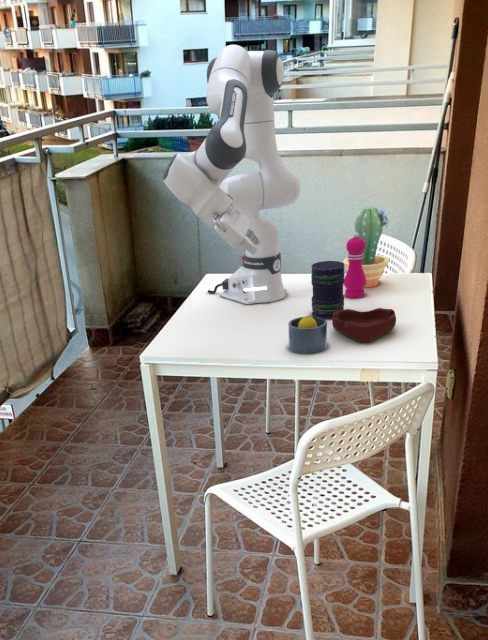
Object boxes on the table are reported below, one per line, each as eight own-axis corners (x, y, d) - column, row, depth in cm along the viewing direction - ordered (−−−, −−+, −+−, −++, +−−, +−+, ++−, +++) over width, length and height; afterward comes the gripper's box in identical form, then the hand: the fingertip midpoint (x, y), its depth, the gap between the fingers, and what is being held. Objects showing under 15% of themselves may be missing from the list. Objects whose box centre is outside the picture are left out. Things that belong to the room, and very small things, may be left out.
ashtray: (332, 345, 191) (332, 328, 188) (332, 325, 205) (332, 309, 202) (398, 343, 188) (399, 326, 186) (394, 323, 202) (394, 307, 199)
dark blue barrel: (343, 308, 217) (344, 260, 210) (344, 318, 209) (345, 268, 201) (311, 309, 219) (311, 261, 211) (311, 319, 210) (310, 270, 203)
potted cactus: (379, 291, 229) (383, 212, 216) (335, 288, 236) (336, 211, 223) (394, 279, 240) (398, 202, 227) (351, 276, 247) (353, 201, 234)
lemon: (317, 347, 188) (316, 319, 184) (296, 347, 190) (296, 319, 185) (318, 340, 193) (318, 312, 189) (298, 340, 194) (298, 312, 190)
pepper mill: (369, 293, 229) (371, 230, 218) (360, 299, 224) (362, 235, 213) (348, 291, 232) (350, 229, 222) (339, 297, 227) (340, 234, 217)
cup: (281, 349, 191) (281, 325, 188) (303, 338, 198) (303, 314, 194) (312, 356, 185) (311, 331, 182) (333, 344, 191) (333, 320, 188)
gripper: (219, 208, 165) (262, 248, 169) (229, 193, 183) (268, 229, 186) (202, 228, 168) (245, 267, 172) (214, 212, 186) (252, 247, 189)
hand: (257, 247), depth 179 cm, fingers open, 8 cm apart
